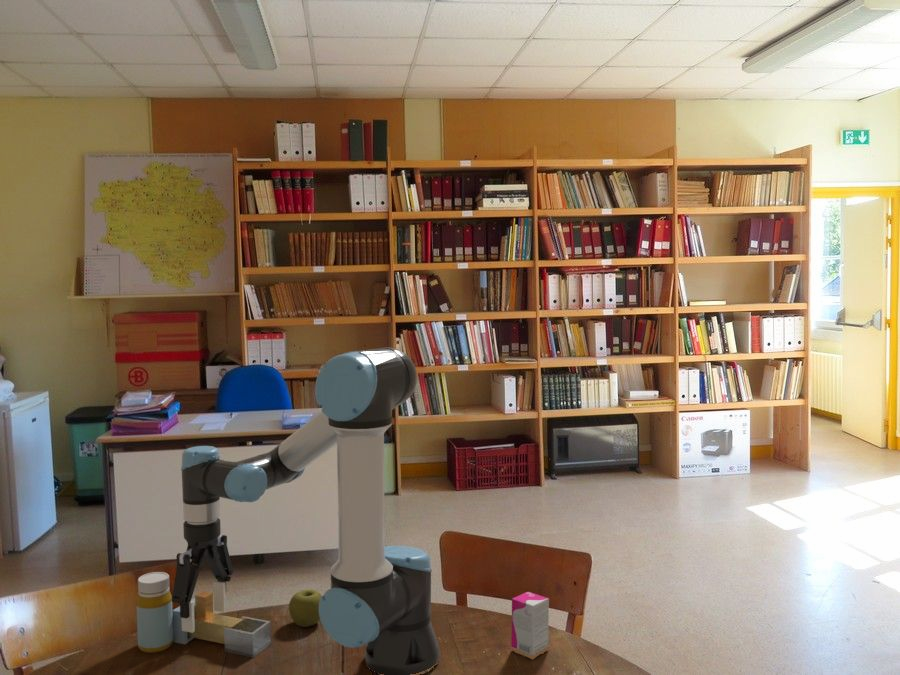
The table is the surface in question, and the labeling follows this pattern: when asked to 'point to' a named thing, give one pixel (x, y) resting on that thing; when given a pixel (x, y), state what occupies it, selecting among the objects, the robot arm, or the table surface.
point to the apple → (305, 607)
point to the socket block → (180, 627)
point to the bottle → (154, 613)
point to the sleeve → (248, 637)
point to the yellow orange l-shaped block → (211, 620)
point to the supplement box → (530, 623)
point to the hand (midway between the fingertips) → (204, 620)
